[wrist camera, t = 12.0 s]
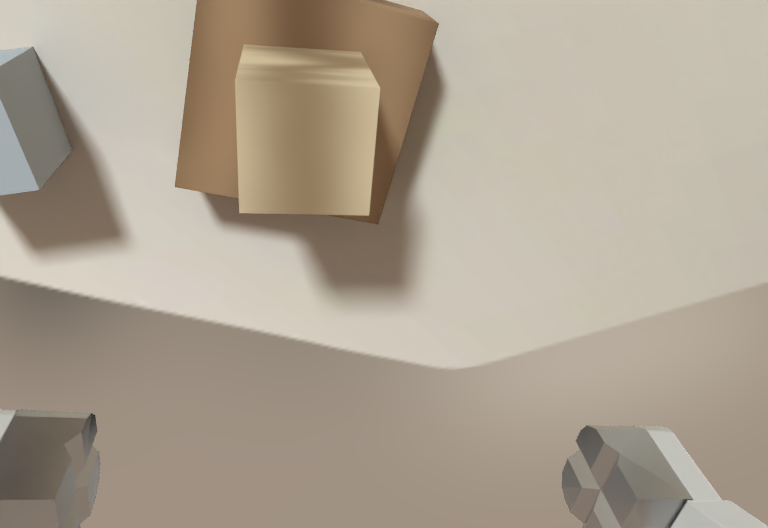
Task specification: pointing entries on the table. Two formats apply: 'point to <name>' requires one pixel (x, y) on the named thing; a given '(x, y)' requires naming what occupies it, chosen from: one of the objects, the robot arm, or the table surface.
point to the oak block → (305, 131)
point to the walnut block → (297, 30)
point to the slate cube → (27, 124)
